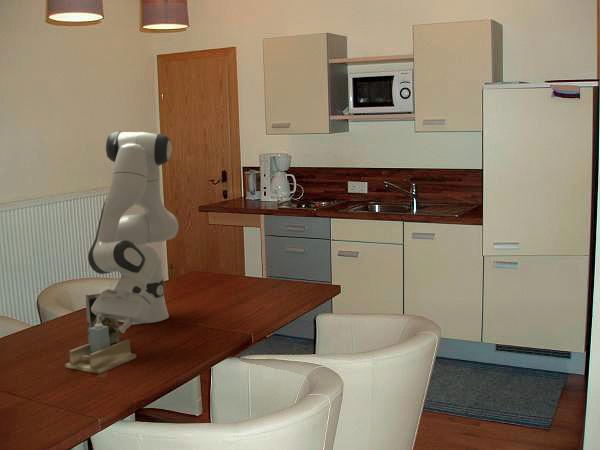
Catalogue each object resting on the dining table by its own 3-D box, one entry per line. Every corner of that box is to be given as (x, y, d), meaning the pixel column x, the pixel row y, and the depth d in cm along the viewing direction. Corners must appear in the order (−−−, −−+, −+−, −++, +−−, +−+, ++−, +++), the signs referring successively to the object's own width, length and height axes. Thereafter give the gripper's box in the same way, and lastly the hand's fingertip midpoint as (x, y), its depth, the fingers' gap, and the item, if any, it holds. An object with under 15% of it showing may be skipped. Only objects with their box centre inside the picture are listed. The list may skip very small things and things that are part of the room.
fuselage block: (91, 360, 229) (88, 325, 227) (100, 356, 232) (98, 322, 230) (101, 361, 227) (98, 327, 225) (110, 357, 230) (108, 323, 228)
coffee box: (92, 347, 245) (88, 298, 243) (88, 342, 251) (84, 294, 248) (120, 342, 249) (116, 295, 247) (115, 337, 255) (112, 291, 252)
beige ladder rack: (64, 367, 226) (63, 350, 225) (102, 351, 240) (101, 335, 239) (99, 373, 219) (98, 356, 218) (136, 357, 233) (135, 340, 232)
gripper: (98, 283, 242) (78, 320, 236) (148, 290, 232) (128, 329, 226) (109, 293, 247) (89, 330, 240) (158, 300, 237) (139, 339, 230)
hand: (108, 330), depth 233 cm, fingers open, 8 cm apart
